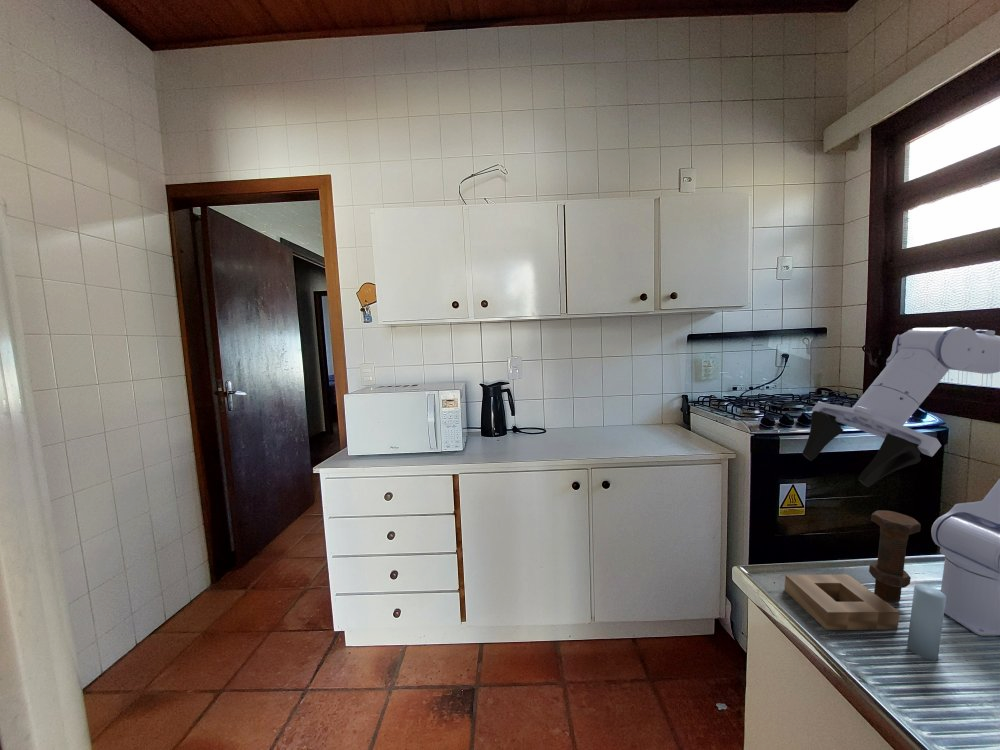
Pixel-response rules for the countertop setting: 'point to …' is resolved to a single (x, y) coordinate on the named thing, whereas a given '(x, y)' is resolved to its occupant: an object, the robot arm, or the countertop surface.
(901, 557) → the bolt
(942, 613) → the dowel
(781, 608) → the countertop surface
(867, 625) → the hole block
